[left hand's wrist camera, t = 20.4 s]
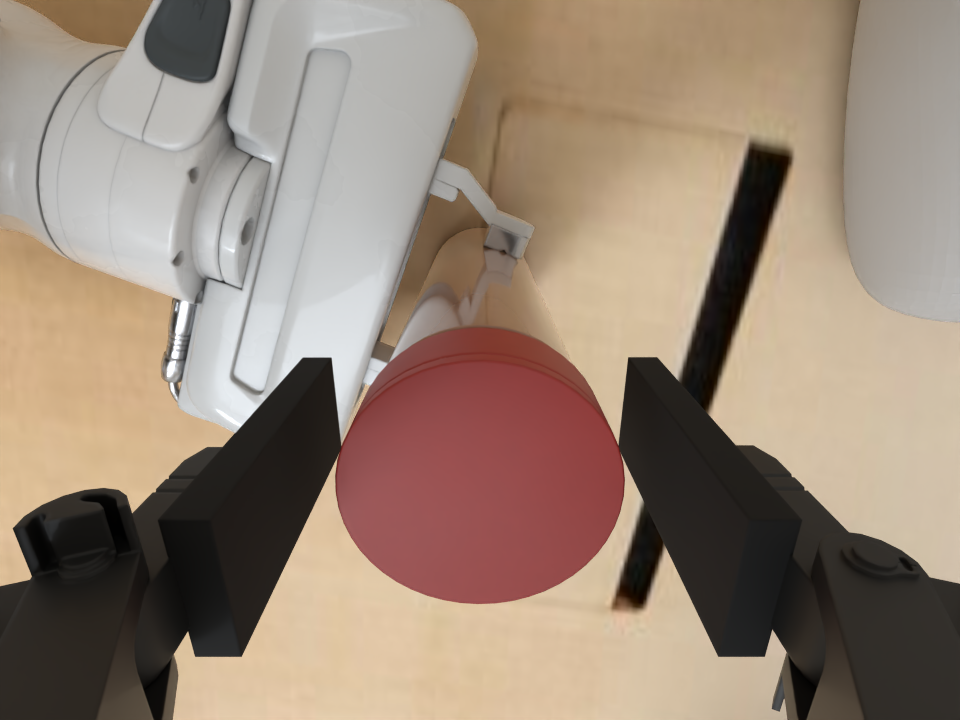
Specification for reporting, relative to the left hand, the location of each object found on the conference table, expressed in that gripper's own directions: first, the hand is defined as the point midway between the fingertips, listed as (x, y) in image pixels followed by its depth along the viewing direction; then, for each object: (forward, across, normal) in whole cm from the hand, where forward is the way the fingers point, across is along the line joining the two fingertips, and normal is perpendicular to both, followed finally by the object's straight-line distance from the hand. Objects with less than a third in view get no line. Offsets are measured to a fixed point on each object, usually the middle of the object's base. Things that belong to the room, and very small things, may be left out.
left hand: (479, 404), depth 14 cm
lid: (-4, 0, 0) cm, 4 cm away
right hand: (+10, -1, 0) cm, 10 cm away
